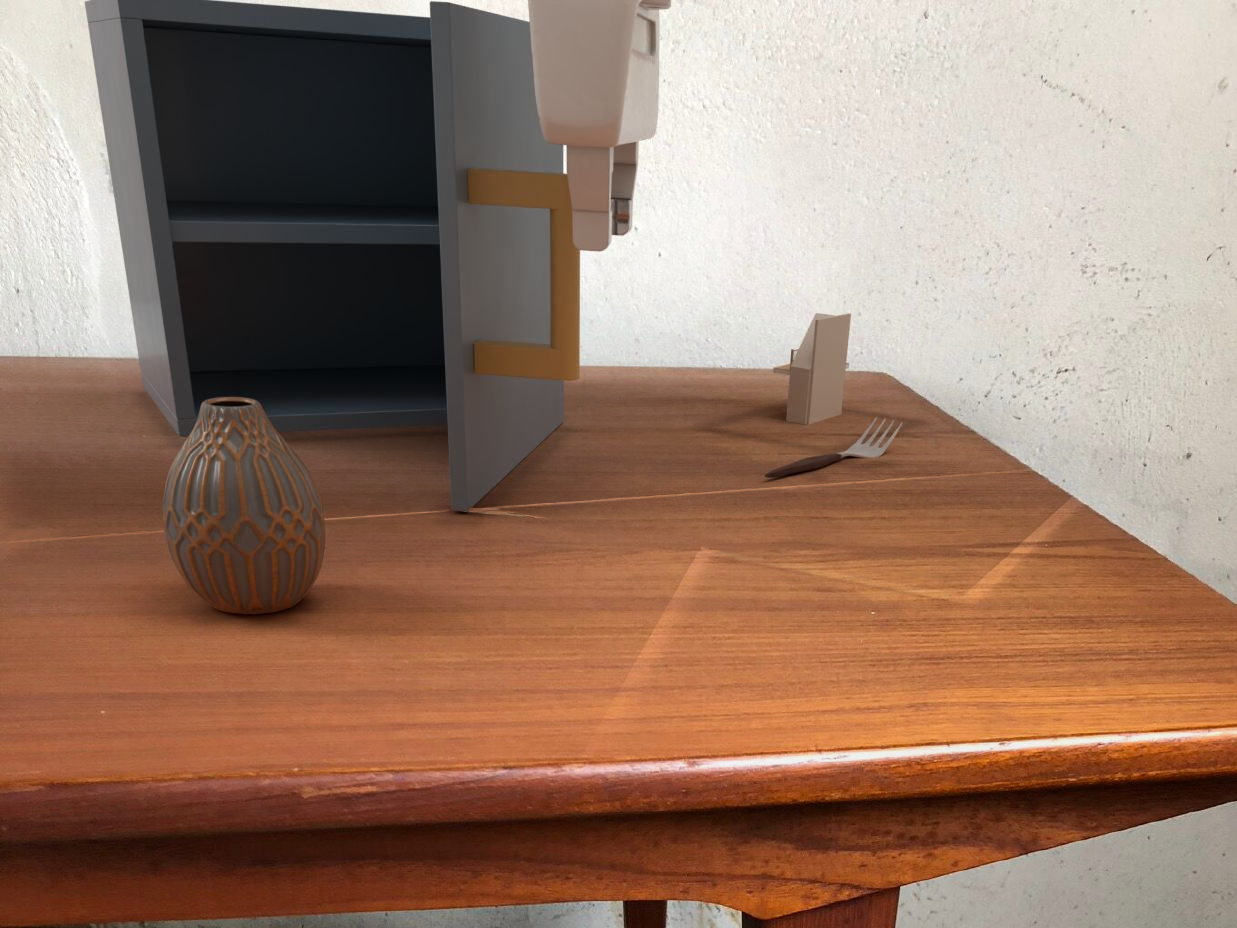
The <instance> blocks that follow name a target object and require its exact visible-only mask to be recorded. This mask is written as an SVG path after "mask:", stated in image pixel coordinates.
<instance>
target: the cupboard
mask: <svg viewBox="0 0 1237 928" xmlns="http://www.w3.org/2000/svg"><path fill="white" fill-rule="evenodd" d="M84 6H85V7H84V8H85V13H86V20H87V27H88V33H89V40H90V46H91V52H92V53H91V54H92V60H93V61H92V62H93V67H94V74H95V79H96V87H97V92H98V100H99V106H100V112H101V119H102V126H103V131H104V138H105V145H106V152H107V158H108V159H107V160H108V165H109V166H108V167H109V171H110V172H109V173H110V177H111V179H110V180H111V185H112V193H113V198H114V205H115V211H116V218H117V225H118V231H119V238H120V243H121V245H120V246H121V251H122V257H123V264H124V270H125V271H124V272H125V276H126V284H127V290H128V297H129V303H130V311H131V316H132V322H133V329H134V330H133V331H134V336H135V342H136V343H135V344H136V350H137V355H138V362H139V363H138V364H139V369H140V375H141V381H142V382H141V383H142V387H143V389H144V390H145V391H146V393H147V394H148V396H149V397H150V398H151V400H152V401H153V403H154V404H155V406H157V408H158V409H159V411H160V413H162V415H163V416H164V418H165V419H166V420H167V422H168V424H169V425H170V426H171V427H172V429H173V430H174V432H175V433H176V434H177V436H178V437H182V438H183V437H188V436H189V435H190V433H191V432H192V430H193V428H194V426H195V424H196V421H197V419H198V415H199V412H200V408H201V405H202V403H203V402H204V401H205V400H208V399H212V398H220V397H242V398H250V399H254V400H257V401H258V402H259V403H260V404H261V406H262V408H263V410H264V412H265V414H266V416H267V417H268V419H269V421H270V422H271V424H272V425H273V427H274V428H275V429H276V430H277V432H278V433H295V432H317V431H318V432H319V431H338V430H362V429H383V428H385V429H386V428H387V429H388V428H407V427H429V426H431V427H432V426H448V418H447V395H446V372H445V348H444V325H443V302H442V279H441V256H440V233H439V209H438V186H437V163H436V140H435V117H434V93H433V70H432V47H431V24H430V16H419V15H407V14H406V15H405V14H393V13H382V12H381V13H380V12H368V11H367V12H366V11H355V10H342V9H330V8H328V9H327V8H317V7H304V6H291V5H280V4H279V5H278V4H266V3H254V2H242V1H241V2H240V1H230V0H229V1H226V0H85V1H84Z"/></svg>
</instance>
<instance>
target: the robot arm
mask: <svg viewBox="0 0 1237 928" xmlns="http://www.w3.org/2000/svg"><path fill="white" fill-rule="evenodd" d="M527 4H528V5H527V6H528V20H529V21H528V22H530V36H531V50H532V63H533V75H534V87H535V97H536V105H537V111H538V116H539V121H540V126H541V130H542V134H543V137H544V139H545V140H546V142H548V143H550V144H557V145H563V146H566V174H567V178H568V184H569V191H570V198H571V204H572V209H573V243H574V245H575V247H576V248H578V249H579V250H580V251H583V252H599V253H601V252H603V251H605V250H606V249H608V248H609V246H610V245H611V243H612V236H617V237H619V236H620V237H621V236H625V235H627V234H628V233H630V232H631V231H632V228H633V215H634V214H633V212H634V211H633V209H634V196H635V188H636V184H637V183H636V181H637V175H638V167H639V147H640V146H639V144H640V143H639V142H643V141H647V140H650V139H653V138H654V137H655V135H656V133H657V128H658V121H659V101H660V99H659V98H660V97H659V96H660V95H659V94H660V11H662V10H669V9H670V8H671V7H672V0H527Z"/></svg>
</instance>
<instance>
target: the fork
mask: <svg viewBox="0 0 1237 928" xmlns="http://www.w3.org/2000/svg"><path fill="white" fill-rule="evenodd" d="M877 421H878V416H876V417H875V418H874V419H873V421H872V422H871V423H870V425H869V426H868V427H867V428H866V429H865V431H864V432H863V434H862V435H861V436H860V437H859V438H858V439H857V441H856V442H854V443H853V444H852V445H851V446H850V447H849V448H848V449H846V450H845V451H841V452H835V453H828V454H821V455H814V456H810V457H809V456H808V457H805V458H803V459H799V460H797V461H793V462H792V463H788V464H786V465H783V466H781V467H777V468H775V469H772V470H770V471H769V472H767V473H766V474H764V478H768V479H771V478H778V477H783V476H788V475H792V474H797V473H800V472H801V473H802V472H806V471H812V470H817V469H820V468H823V467H824V466H827V465H829V464H831V463H833V462H836V461H838V460H840V459H842V458H845V457H855V458H859V459H875V458H879V457H881V456H882V455H883V454H884V453H885V452H886V450H887V449H888V448H889V446H890V445H891V444H892V442H893V441H894V439H895V437H896V436H897V435H898V433H899V431H900V429H901V428H902V427H903V425H904V422H903V421H901V422H900V424H899V425H898V427H897V428H896V430H895V431H893V433H892V434H891V436H890V437H889V438H888V439H887V441H886V442H885V443H884V444H883V445H882V446H881V447H880V445H881V444H882V442H883V441H884V439H885V438H886V436H887V435H888V433H889V432H890V430H891V428H893V425H894V423H895V420H894V419H893V420H892V421H891V423H890V424H889V425H888V426H887V428H886V429H885V431H884V432H883V433H882V434H881V436H880V437H879V438H878V439H877V441H876V442H875V443H874V444H872V443H873V441H874V440H875V439H876V437H877V436H878V434H879V432H880V431H881V429H882V427H883V426H884V425H885V422H886V418H884V419H883V421H882V422H881V423H880V425H879V426H878V427H877V428H876V429H875V431H874V432H873V433H872V434H871V436H870V437H869V438H868V439H867V440H866V441H865V443H863V442H864V440H865V439H866V437H867V435H868V434H869V432H870V431H871V430H872V428H873V427H874V425H875V423H876V422H877ZM862 443H863V444H862ZM871 444H872V445H871Z"/></svg>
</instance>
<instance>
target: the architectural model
mask: <svg viewBox="0 0 1237 928" xmlns="http://www.w3.org/2000/svg"><path fill="white" fill-rule="evenodd" d="M851 318H852V313H850V312H847V313H843V314H838V315H835V314H827V313H821V312H816V313H814V316H813V318H812V320H811V322H810V324H809V326H808V328H807V331H806V332H805V334H804V337H803V339H802V341H801V344H800V345H799V347H798V348H797V349H793V348H792V349H791V350H790V358H789V359H790V361H789V363H787V364H784V365H778V366H774V367H773V369H772V370H773V372H772V373H773V374H778V375H785V376H789V379H788V380H789V381H788V391H787V392H788V394H787V405H786V416H785V417H786V419H785V422H789V423H795V424H800V425H801V424H802V425H812V424H815V423H818V422H822V421H824V420H829V419H832V418H835V417H837V416H841V415H842V409H843V401H844V400H843V399H844V389H845V380H846V370H847V369H850V363H849V362H848V361H847V359H848V350H849V340H850V330H851V329H850V328H851ZM795 352H796V353H795Z"/></svg>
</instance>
